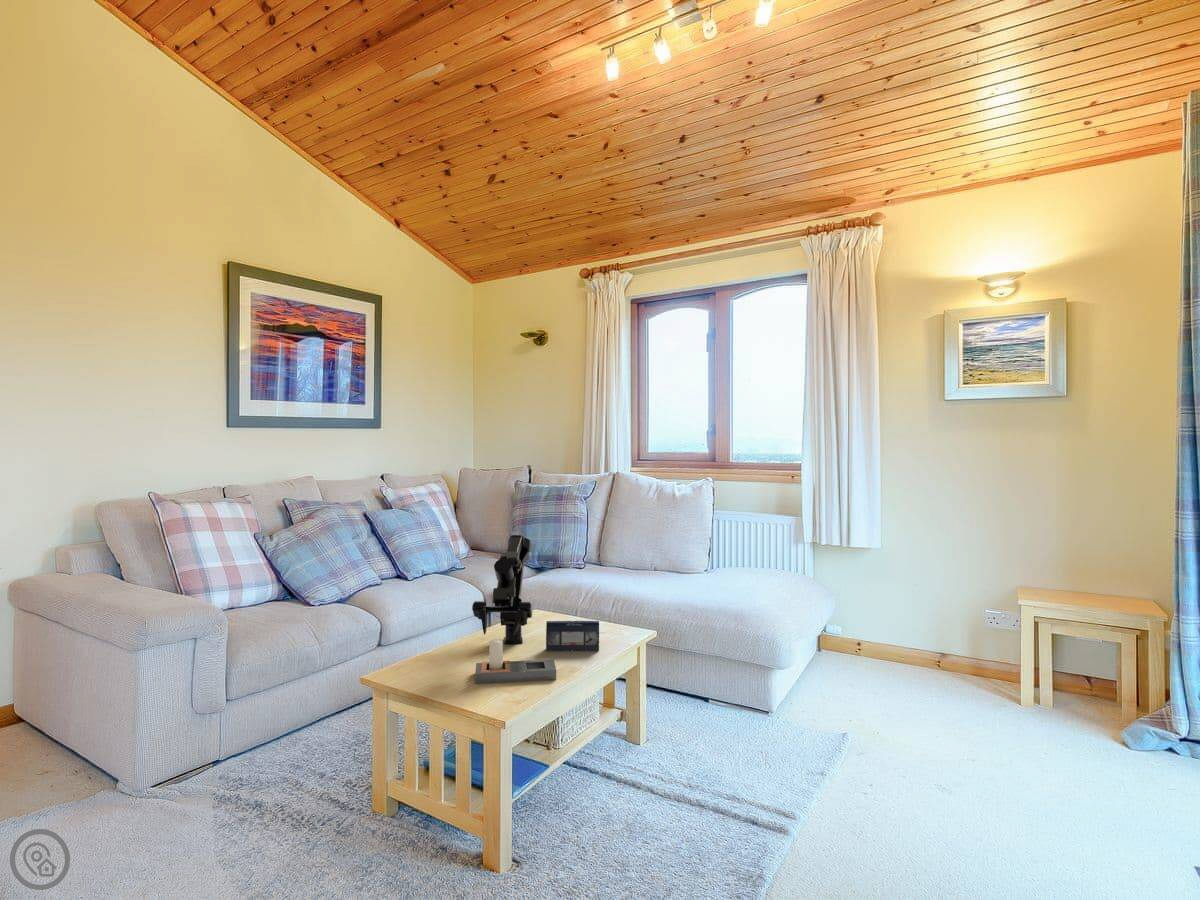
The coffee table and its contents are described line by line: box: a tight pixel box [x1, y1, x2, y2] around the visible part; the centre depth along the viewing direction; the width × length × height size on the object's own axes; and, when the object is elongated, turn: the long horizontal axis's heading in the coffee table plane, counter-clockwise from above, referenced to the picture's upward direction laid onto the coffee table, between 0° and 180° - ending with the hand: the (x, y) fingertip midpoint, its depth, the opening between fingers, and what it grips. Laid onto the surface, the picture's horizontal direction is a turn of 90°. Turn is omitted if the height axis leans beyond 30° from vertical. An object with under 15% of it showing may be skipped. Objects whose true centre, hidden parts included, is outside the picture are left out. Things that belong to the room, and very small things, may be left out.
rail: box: [474, 658, 557, 685], centre depth 186 cm, size 9×24×3 cm, turn 99°
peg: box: [488, 638, 504, 670], centre depth 185 cm, size 4×4×11 cm
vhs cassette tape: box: [545, 620, 600, 652], centre depth 209 cm, size 18×3×10 cm, turn 91°
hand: (499, 634), depth 189 cm, fingers open, 9 cm apart
